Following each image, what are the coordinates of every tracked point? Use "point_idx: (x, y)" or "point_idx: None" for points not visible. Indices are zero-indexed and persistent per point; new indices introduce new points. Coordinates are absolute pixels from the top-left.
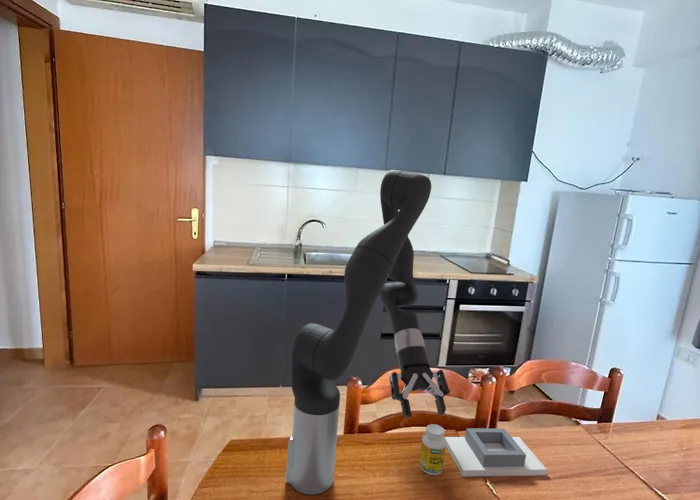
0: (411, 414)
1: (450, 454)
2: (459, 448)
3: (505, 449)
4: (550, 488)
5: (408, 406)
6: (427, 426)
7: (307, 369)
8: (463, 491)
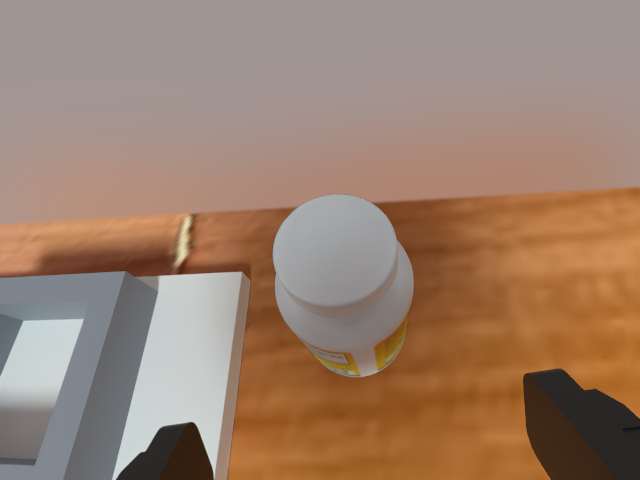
0: (530, 374)
1: (234, 416)
2: (180, 417)
3: None
4: (19, 242)
5: (608, 438)
6: (382, 272)
7: None
8: (281, 218)
